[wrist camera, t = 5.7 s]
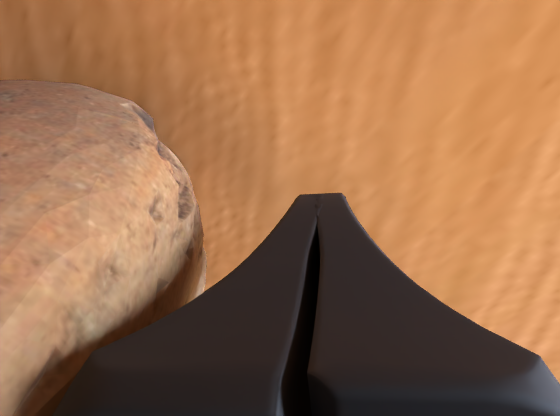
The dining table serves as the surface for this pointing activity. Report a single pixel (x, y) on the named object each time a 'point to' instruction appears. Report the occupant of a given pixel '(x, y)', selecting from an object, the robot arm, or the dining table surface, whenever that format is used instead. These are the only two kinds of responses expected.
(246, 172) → the dining table surface
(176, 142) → the dining table surface
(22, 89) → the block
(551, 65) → the dining table surface
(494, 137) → the dining table surface
